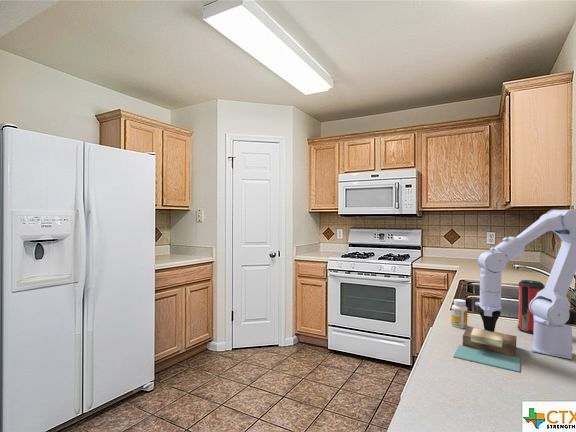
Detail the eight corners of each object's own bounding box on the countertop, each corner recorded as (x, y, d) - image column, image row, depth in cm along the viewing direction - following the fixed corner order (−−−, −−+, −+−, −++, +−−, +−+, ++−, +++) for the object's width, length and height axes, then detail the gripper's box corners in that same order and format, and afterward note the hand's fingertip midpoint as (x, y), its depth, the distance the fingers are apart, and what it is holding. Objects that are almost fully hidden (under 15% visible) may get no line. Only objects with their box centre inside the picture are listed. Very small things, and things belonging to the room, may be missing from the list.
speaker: (543, 336, 119) (544, 284, 119) (516, 331, 124) (518, 281, 124) (543, 330, 125) (544, 281, 125) (518, 326, 130) (519, 278, 130)
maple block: (503, 339, 105) (503, 333, 104) (501, 347, 100) (501, 340, 99) (473, 333, 109) (473, 327, 109) (470, 341, 104) (470, 334, 104)
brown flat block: (516, 347, 109) (516, 336, 109) (515, 357, 100) (516, 345, 100) (466, 337, 117) (467, 327, 117) (462, 346, 108) (462, 335, 108)
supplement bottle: (463, 324, 131) (464, 298, 131) (469, 328, 126) (470, 302, 126) (449, 323, 132) (449, 298, 132) (454, 328, 126) (455, 301, 126)
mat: (519, 358, 100) (519, 357, 100) (519, 372, 91) (519, 371, 91) (459, 345, 109) (459, 344, 109) (453, 357, 100) (453, 356, 100)
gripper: (478, 285, 116) (477, 325, 116) (473, 292, 104) (471, 337, 104) (503, 288, 112) (502, 329, 112) (500, 296, 100) (499, 343, 100)
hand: (489, 334), depth 107 cm, fingers closed
